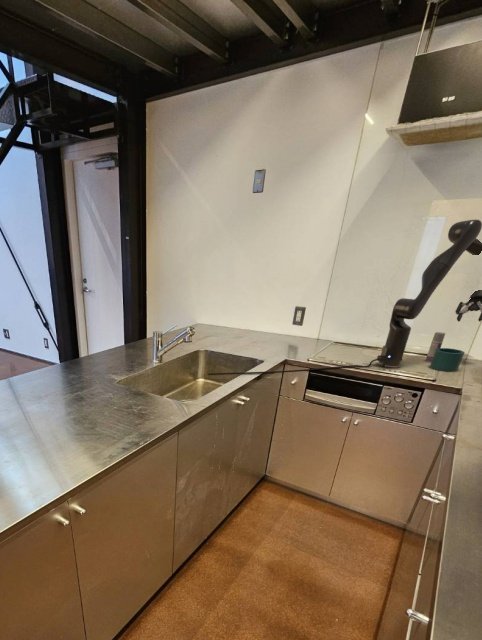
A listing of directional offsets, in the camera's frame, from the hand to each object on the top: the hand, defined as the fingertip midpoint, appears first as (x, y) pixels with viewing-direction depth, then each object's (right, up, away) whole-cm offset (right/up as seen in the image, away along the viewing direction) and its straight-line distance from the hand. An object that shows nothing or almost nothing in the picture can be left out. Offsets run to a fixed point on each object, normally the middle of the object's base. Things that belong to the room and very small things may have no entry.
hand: (468, 320), depth 193 cm
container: (-9, -18, +14) cm, 24 cm away
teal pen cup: (-12, -24, +2) cm, 27 cm away
